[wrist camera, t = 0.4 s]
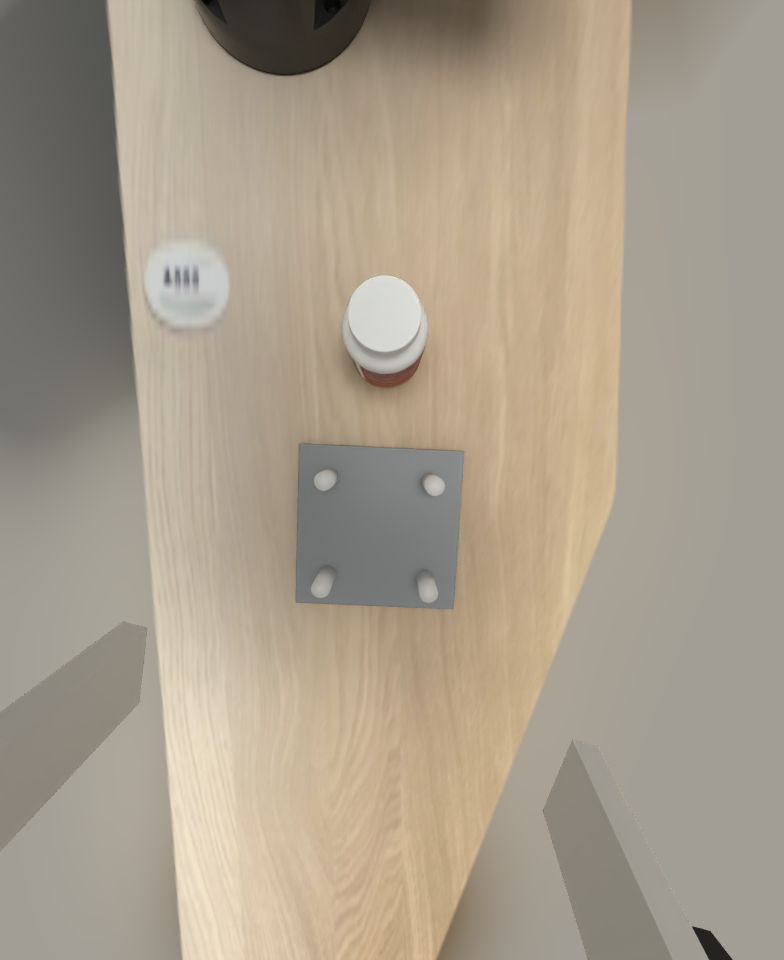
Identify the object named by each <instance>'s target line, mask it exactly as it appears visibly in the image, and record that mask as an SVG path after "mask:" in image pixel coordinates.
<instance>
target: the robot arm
mask: <svg viewBox="0 0 784 960" xmlns="http://www.w3.org/2000/svg"><path fill="white" fill-rule="evenodd" d="M194 2H195V4H196V6H197V8H198V11H199V13H200V15H201V17H202V19H203V21H204V23H205V25H206V26H207V28H208V30H209V31H210V32H211V34H212V35H213V37H214V38H215V39H216V40H217V41H218V43H219V44H220V45H221V46H222V47H223V48H224V49H225V50H227V51H228V52H229V53H230V54H231V55H233V56H234V57H235V58H237V59H238V60H240V61H241V62H243V63H245V64H247V65H249V66H251V67H254V68H256V69H259V70H262V71H266V72H271V73H279V74H291V73H299V72H304V71H308V70H311V69H314V68H316V67H319V66H321V65H323V64H325V63H326V62H328V61H330V60H331V59H332V58H334V57H335V56H337V55H338V54H339V53H340V52H341V51H342V50H343V49H344V48H345V47H346V46H347V45H348V44H349V43H350V42H351V40H352V39H353V38H354V36H355V35H356V33H357V32H358V30H359V28H360V26H361V25H362V23H363V21H364V18H365V16H366V13H367V11H368V8H369V4H370V0H194ZM146 636H147V628H146V627H142V626H138V625H134V624H131V623H126V622H122V623H121V624H119V625H118V626H117V627H115V628H114V629H112V630H111V631H110V632H108V633H107V634H106V635H104V636H103V637H102V638H100V639H99V640H98V641H96V642H95V643H94V644H92V645H91V646H89V647H88V648H87V649H85V650H84V651H83V652H81V653H80V654H79V655H77V656H76V657H74V658H73V659H72V660H70V661H69V662H68V663H66V664H65V665H64V666H62V667H61V668H60V669H58V670H57V671H56V672H54V673H53V674H51V675H50V676H49V677H47V678H46V679H45V680H43V681H42V682H41V683H39V684H38V685H37V686H35V687H34V688H32V689H31V690H30V691H28V692H27V693H26V694H24V695H23V696H22V697H20V698H19V699H18V700H16V701H15V702H13V703H12V704H11V705H9V706H8V707H7V708H5V709H4V710H3V711H1V712H0V851H1V850H2V849H3V848H4V847H5V846H6V845H7V844H8V842H10V841H11V839H12V838H13V837H14V836H15V835H16V834H17V833H18V832H19V831H20V830H21V829H22V828H23V827H24V825H26V823H27V822H28V821H29V820H30V819H31V818H32V817H33V816H34V815H35V814H36V813H37V812H38V811H39V809H40V808H41V807H42V806H43V805H44V804H45V803H46V802H47V801H48V800H49V799H50V798H51V797H52V796H53V795H54V793H55V792H56V791H57V790H58V789H59V788H60V787H61V786H62V785H63V784H64V783H65V782H66V781H67V780H68V778H69V777H70V776H71V775H72V774H73V773H74V772H75V771H76V770H77V769H78V768H79V767H80V766H81V764H83V762H84V761H85V760H86V759H87V758H88V757H89V756H90V755H91V754H92V753H93V752H94V751H95V750H96V748H97V747H98V746H99V745H100V744H101V743H102V742H103V741H104V740H105V739H106V738H107V737H108V736H109V735H110V734H111V733H112V731H113V730H114V729H115V728H116V727H117V726H118V725H119V724H120V723H121V722H122V721H123V720H124V719H125V718H126V716H127V715H128V714H129V713H130V712H131V711H132V710H133V709H134V708H135V707H136V706H137V705H138V704H139V700H140V691H141V681H142V673H143V664H144V654H145V645H146ZM543 813H544V817H545V820H546V823H547V826H548V830H549V833H550V836H551V839H552V843H553V846H554V849H555V853H556V856H557V859H558V862H559V866H560V869H561V872H562V876H563V879H564V883H565V886H566V889H567V892H568V896H569V899H570V902H571V906H572V909H573V912H574V915H575V919H576V922H577V926H578V929H579V932H580V935H581V939H582V942H583V945H584V949H585V952H586V955H587V959H588V960H732V958H731V957H730V956H729V955H728V953H727V952H726V951H725V949H724V948H723V947H722V946H721V944H720V943H719V942H718V941H717V939H716V938H715V937H714V935H713V934H712V933H711V931H707V930H704V929H701V928H697V927H693V926H691V924H690V922H689V920H688V919H687V916H686V915H685V913H684V911H683V909H682V907H681V905H680V903H679V901H678V899H677V897H676V895H675V893H674V892H673V890H672V888H671V886H670V884H669V882H668V880H667V878H666V876H665V874H664V872H663V870H662V869H661V867H660V865H659V863H658V861H657V859H656V857H655V855H654V853H653V851H652V849H651V847H650V846H649V844H648V842H647V840H646V838H645V836H644V834H643V832H642V830H641V828H640V826H639V824H638V823H637V821H636V818H635V817H634V815H633V813H632V811H631V809H630V807H629V805H628V803H627V801H626V799H625V797H624V795H623V794H622V792H621V790H620V788H619V786H618V784H617V782H616V780H615V778H614V776H613V774H612V772H611V770H610V768H609V767H608V765H607V763H606V761H605V759H604V757H603V755H602V753H601V751H600V749H599V748H598V746H595V745H592V744H588V743H583V742H580V741H576V740H572V742H571V744H570V746H569V749H568V751H567V754H566V756H565V758H564V761H563V763H562V766H561V768H560V770H559V773H558V775H557V778H556V780H555V783H554V785H553V787H552V790H551V792H550V794H549V797H548V799H547V802H546V804H545V807H544V809H543Z"/></svg>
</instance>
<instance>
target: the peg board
mask: <svg viewBox="0 0 784 960" xmlns="http://www.w3.org/2000/svg"><path fill="white" fill-rule="evenodd" d="M463 463H464V452H463V451H447V450H426V449H405V448H385V447H364V446H343V445H322V444H299V473H298V519H297V565H296V603H319V604H342V605H366V606H389V607H412V608H435V609H454V594H455V579H456V565H457V550H458V536H459V521H460V507H461V492H462V478H463Z"/></svg>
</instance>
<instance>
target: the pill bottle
mask: <svg viewBox="0 0 784 960" xmlns="http://www.w3.org/2000/svg"><path fill="white" fill-rule="evenodd" d="M342 335H343V340H344V343H345V346H346V349H347V351H348V353H349V355H350V357H351V359H352V361H353V363H354V365H355V367H356V369H357V371H358V372H359V374H360V375H361V376H362V377H363V378H364V379H365V380H366V381H368V382H369V383H371V384H373V385H375V386H379V387H384V388H390V387H396V386H399V385H401V384H403V383H405V382H406V381H407V380H409V379H410V378H411V377H412V376H413V374H414V373H415V371H416V370H417V368H418V366H419V363H420V360H421V357H422V354H423V351H424V348H425V345H426V341H427V336H428V320H427V315H426V312H425V309H424V307H423V305H422V304H421V302H420V301H419V298H418V296H417V294H416V293H415V291H414V290H413V288H412V287H411V286H410V285H409V284H407V283H406V282H405V281H403V280H401V279H399V278H397V277H394V276H388V275H381V276H376V277H372V278H370V279H368V280H366V281H364V282H363V283H362V284H361V285H360V286H359V287H358V288H357V289H356V290H355V291H354V293H353V295H352V297H351V299H350V302H349V304H348V306H347V308H346V310H345V312H344V316H343V321H342Z"/></svg>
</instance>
